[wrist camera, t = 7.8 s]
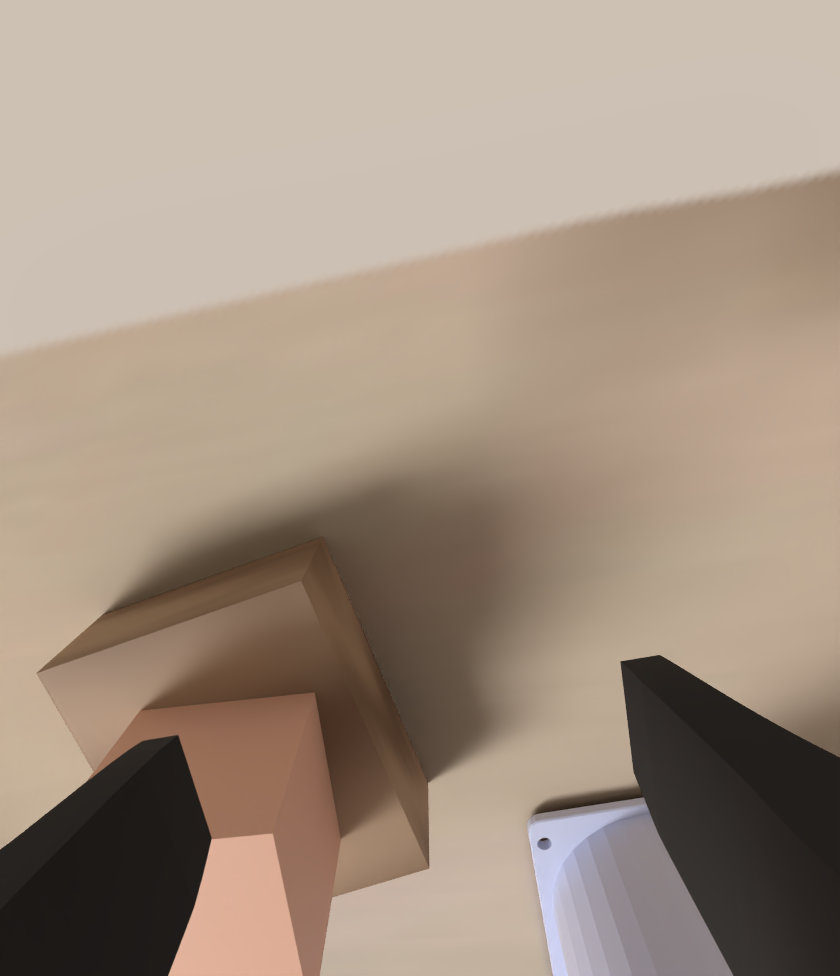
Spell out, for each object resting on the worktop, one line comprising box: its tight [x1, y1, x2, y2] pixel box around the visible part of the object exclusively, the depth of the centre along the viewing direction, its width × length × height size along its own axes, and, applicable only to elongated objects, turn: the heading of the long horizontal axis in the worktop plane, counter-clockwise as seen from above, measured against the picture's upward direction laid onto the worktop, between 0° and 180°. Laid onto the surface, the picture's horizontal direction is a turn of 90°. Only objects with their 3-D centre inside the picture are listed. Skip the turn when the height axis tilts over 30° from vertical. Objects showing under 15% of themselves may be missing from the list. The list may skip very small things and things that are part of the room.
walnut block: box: [36, 537, 429, 897], centre depth 20 cm, size 10×8×4 cm
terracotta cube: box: [88, 692, 341, 976], centre depth 15 cm, size 5×5×5 cm
